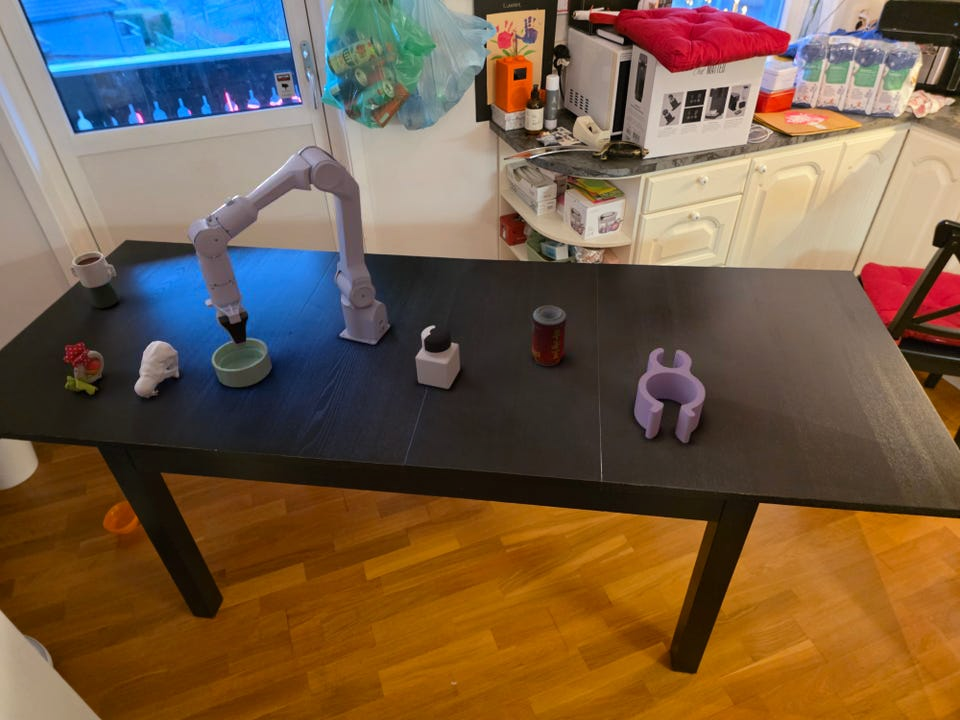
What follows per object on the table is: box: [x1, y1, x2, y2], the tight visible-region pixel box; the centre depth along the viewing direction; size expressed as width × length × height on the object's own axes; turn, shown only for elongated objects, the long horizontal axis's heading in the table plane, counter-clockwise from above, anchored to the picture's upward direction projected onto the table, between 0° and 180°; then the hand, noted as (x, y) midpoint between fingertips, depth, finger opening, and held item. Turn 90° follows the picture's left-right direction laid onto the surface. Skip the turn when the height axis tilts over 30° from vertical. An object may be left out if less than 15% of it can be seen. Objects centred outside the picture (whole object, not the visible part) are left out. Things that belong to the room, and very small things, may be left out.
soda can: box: [531, 304, 567, 367], centre depth 142 cm, size 7×7×12 cm
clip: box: [633, 347, 706, 444], centre depth 131 cm, size 20×12×7 cm, turn 169°
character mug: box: [69, 251, 121, 309], centre depth 164 cm, size 11×7×13 cm, turn 88°
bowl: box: [211, 337, 273, 388], centre depth 143 cm, size 12×12×5 cm
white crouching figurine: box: [134, 340, 180, 399], centre depth 140 cm, size 6×8×12 cm
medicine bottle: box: [415, 324, 461, 390], centre depth 138 cm, size 7×7×12 cm
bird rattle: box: [62, 342, 105, 395], centre depth 140 cm, size 6×11×9 cm
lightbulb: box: [215, 304, 247, 348], centre depth 138 cm, size 6×6×11 cm
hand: (237, 333), depth 139 cm, fingers closed on lightbulb, 6 cm apart
